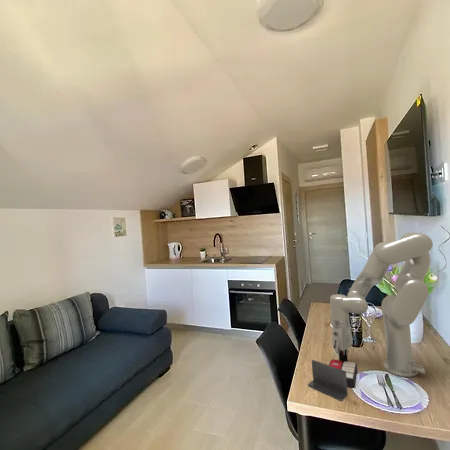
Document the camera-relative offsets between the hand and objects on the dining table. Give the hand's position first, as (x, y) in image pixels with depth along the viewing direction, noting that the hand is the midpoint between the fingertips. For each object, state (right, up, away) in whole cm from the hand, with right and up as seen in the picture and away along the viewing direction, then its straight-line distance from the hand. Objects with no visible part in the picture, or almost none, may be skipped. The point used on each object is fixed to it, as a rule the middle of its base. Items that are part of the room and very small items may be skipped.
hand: (343, 362), depth 125 cm
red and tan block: (-4, -2, -8) cm, 10 cm away
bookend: (-14, -2, -17) cm, 22 cm away
